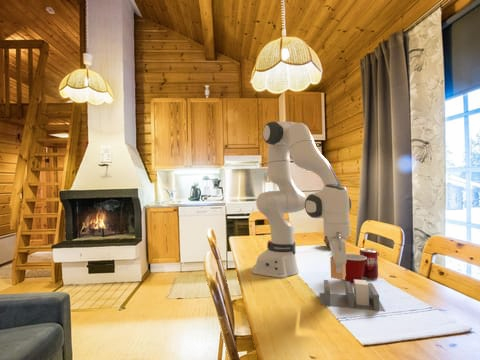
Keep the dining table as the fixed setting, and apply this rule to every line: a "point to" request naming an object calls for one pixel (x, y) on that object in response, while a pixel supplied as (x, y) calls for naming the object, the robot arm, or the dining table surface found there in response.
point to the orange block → (334, 273)
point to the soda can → (370, 263)
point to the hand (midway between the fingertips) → (338, 269)
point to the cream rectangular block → (361, 292)
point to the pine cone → (326, 241)
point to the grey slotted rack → (350, 298)
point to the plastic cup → (354, 267)
